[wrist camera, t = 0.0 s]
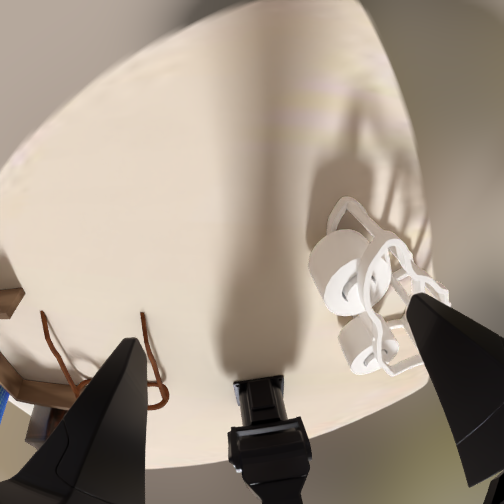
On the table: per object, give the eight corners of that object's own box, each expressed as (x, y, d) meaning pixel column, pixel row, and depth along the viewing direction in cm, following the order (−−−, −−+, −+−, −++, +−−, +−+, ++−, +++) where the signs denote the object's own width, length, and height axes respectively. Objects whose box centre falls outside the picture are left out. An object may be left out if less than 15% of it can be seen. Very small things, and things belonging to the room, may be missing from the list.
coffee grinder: (32, 398, 34) (13, 481, 19) (60, 390, 33) (40, 491, 17) (93, 436, 42) (86, 510, 27) (127, 431, 41) (123, 518, 25)
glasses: (82, 377, 31) (75, 406, 27) (41, 307, 25) (24, 339, 20) (170, 381, 33) (169, 414, 29) (146, 307, 26) (139, 346, 22)
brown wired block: (90, 389, 32) (85, 412, 29) (23, 381, 31) (16, 400, 28) (22, 287, 22) (6, 312, 19) (-41, 294, 21) (-54, 313, 18)
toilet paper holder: (286, 222, 23) (314, 276, 17) (399, 170, 22) (454, 203, 15) (341, 351, 33) (361, 398, 27) (416, 312, 32) (444, 352, 26)
